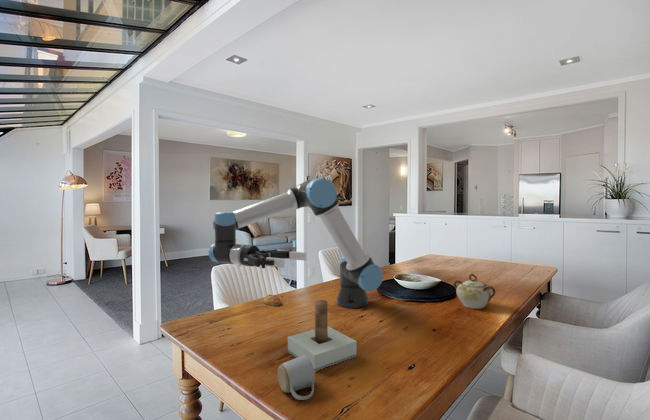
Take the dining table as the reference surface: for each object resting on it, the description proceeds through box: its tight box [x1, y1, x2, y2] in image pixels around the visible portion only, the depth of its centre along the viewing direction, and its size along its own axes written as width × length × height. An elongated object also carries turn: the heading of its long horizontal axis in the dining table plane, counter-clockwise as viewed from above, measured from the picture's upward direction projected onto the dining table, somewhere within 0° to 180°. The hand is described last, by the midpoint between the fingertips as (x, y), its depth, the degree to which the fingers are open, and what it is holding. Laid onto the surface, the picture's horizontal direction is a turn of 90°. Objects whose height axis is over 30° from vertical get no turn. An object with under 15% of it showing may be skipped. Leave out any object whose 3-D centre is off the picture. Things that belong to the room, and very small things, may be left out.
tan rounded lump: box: [263, 294, 282, 307], centre depth 159 cm, size 9×7×4 cm
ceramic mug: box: [276, 355, 316, 401], centre depth 86 cm, size 11×8×8 cm
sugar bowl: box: [453, 273, 496, 310], centre depth 153 cm, size 20×15×15 cm
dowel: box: [314, 299, 329, 344], centre depth 107 cm, size 4×4×16 cm
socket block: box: [287, 326, 358, 372], centre depth 107 cm, size 16×16×5 cm
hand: (295, 259), depth 110 cm, fingers open, 13 cm apart
